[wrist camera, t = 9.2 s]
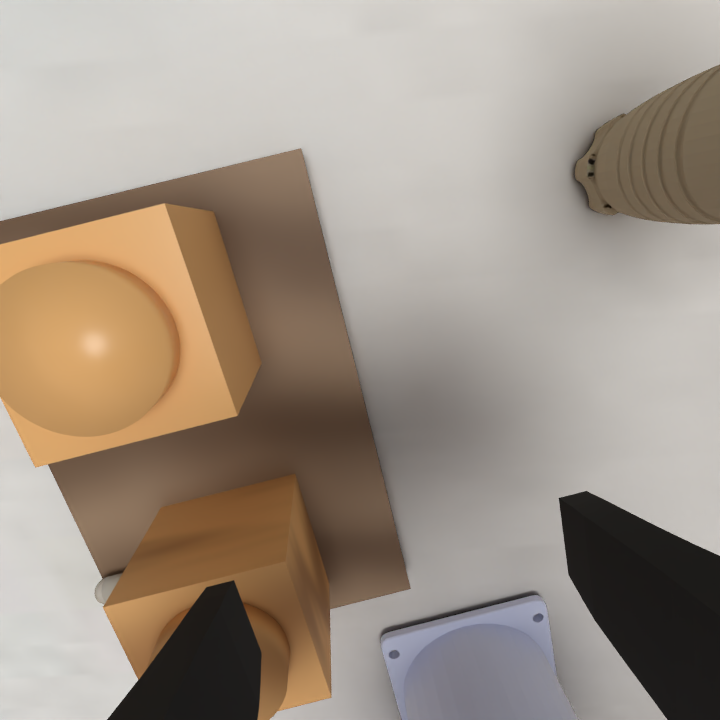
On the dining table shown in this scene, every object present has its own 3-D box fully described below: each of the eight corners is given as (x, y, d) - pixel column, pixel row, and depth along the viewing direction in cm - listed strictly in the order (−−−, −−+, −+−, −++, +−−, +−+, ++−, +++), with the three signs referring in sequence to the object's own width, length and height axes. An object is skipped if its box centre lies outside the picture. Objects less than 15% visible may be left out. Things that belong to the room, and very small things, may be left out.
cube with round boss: (261, 363, 17) (230, 432, 11) (116, 399, 17) (10, 488, 11) (213, 211, 15) (148, 200, 10) (55, 251, 15) (-107, 264, 10)
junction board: (405, 569, 21) (446, 733, 14) (148, 634, 21) (63, 831, 14) (302, 154, 16) (288, 97, 9) (-37, 236, 16) (-308, 241, 9)
